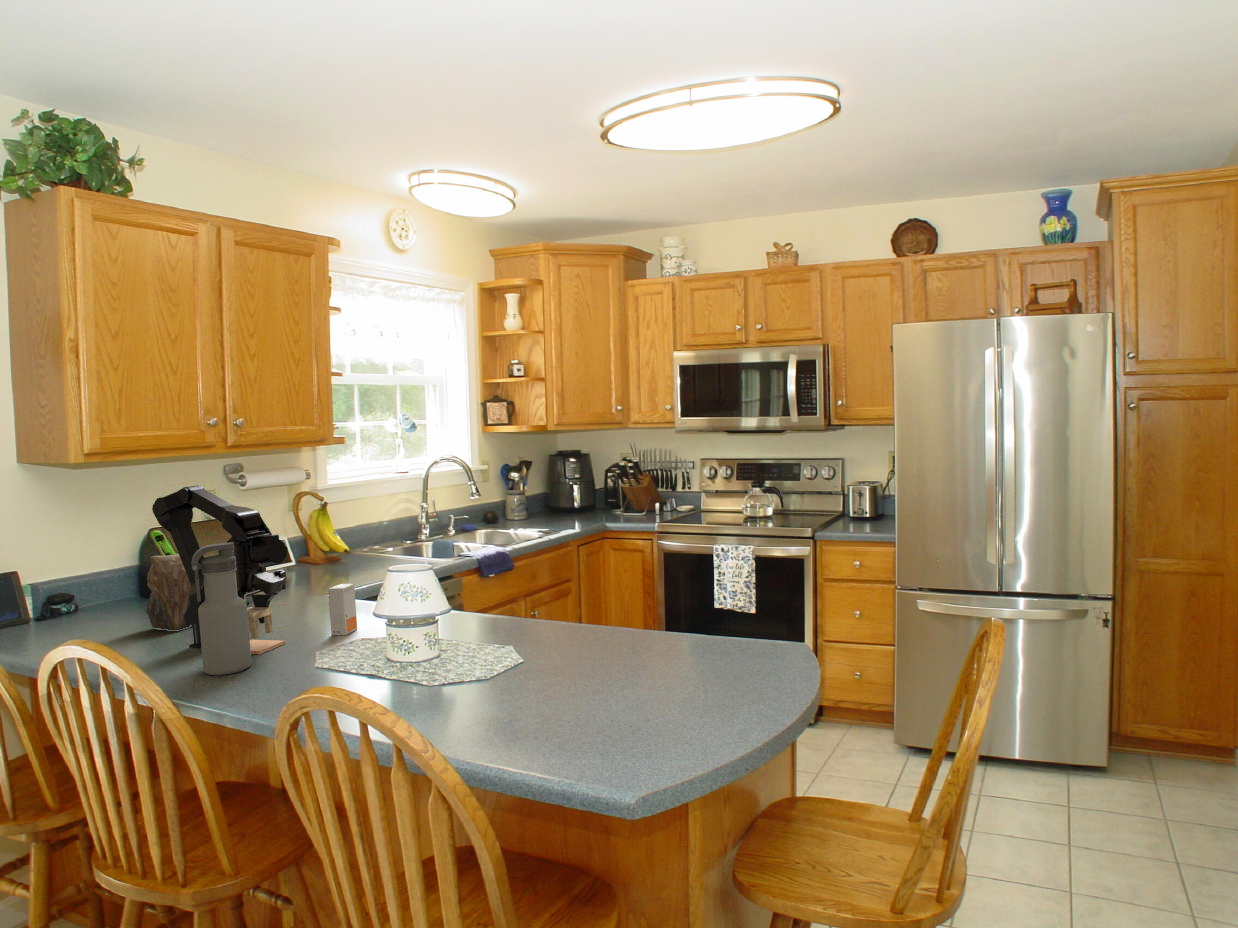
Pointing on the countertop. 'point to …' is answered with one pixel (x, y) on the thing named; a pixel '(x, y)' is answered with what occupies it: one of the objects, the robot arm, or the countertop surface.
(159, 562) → the tree stump
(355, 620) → the skincare box
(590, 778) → the countertop surface
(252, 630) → the birch stool
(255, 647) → the trivet
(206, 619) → the water bottle
